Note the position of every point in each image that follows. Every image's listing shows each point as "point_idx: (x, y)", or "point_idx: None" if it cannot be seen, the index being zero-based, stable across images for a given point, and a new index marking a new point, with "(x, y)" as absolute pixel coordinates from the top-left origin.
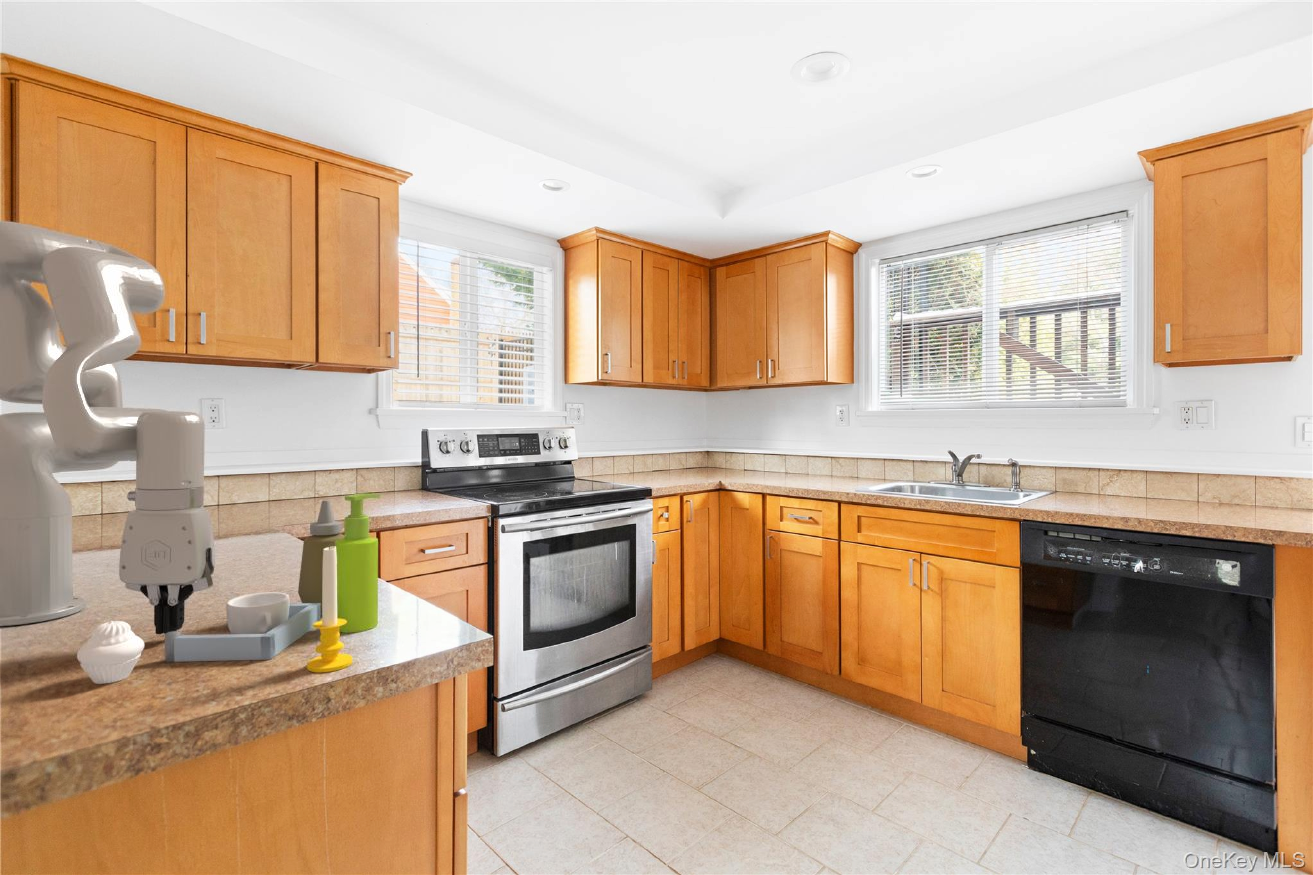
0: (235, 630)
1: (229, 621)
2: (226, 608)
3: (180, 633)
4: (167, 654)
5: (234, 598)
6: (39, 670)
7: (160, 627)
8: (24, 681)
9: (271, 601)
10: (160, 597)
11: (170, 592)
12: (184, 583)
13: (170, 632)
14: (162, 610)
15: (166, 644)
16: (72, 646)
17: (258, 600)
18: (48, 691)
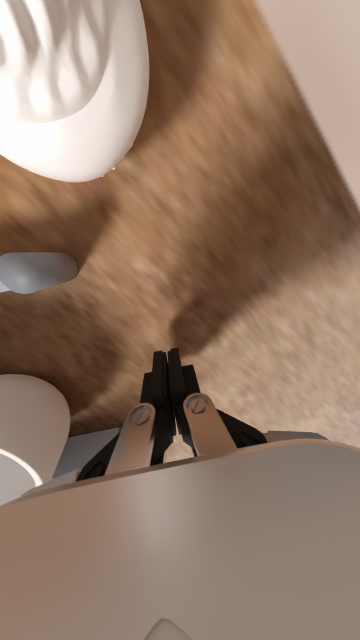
0: (4, 379)
1: (10, 396)
2: (11, 431)
3: (7, 283)
4: (51, 252)
5: (35, 478)
6: (291, 181)
7: (170, 357)
8: (277, 100)
9: (6, 492)
10: (186, 422)
11: (143, 444)
12: (10, 502)
13: (32, 277)
14: (170, 387)
15: (38, 252)
16: (313, 313)
17: (28, 489)
18: (165, 7)
